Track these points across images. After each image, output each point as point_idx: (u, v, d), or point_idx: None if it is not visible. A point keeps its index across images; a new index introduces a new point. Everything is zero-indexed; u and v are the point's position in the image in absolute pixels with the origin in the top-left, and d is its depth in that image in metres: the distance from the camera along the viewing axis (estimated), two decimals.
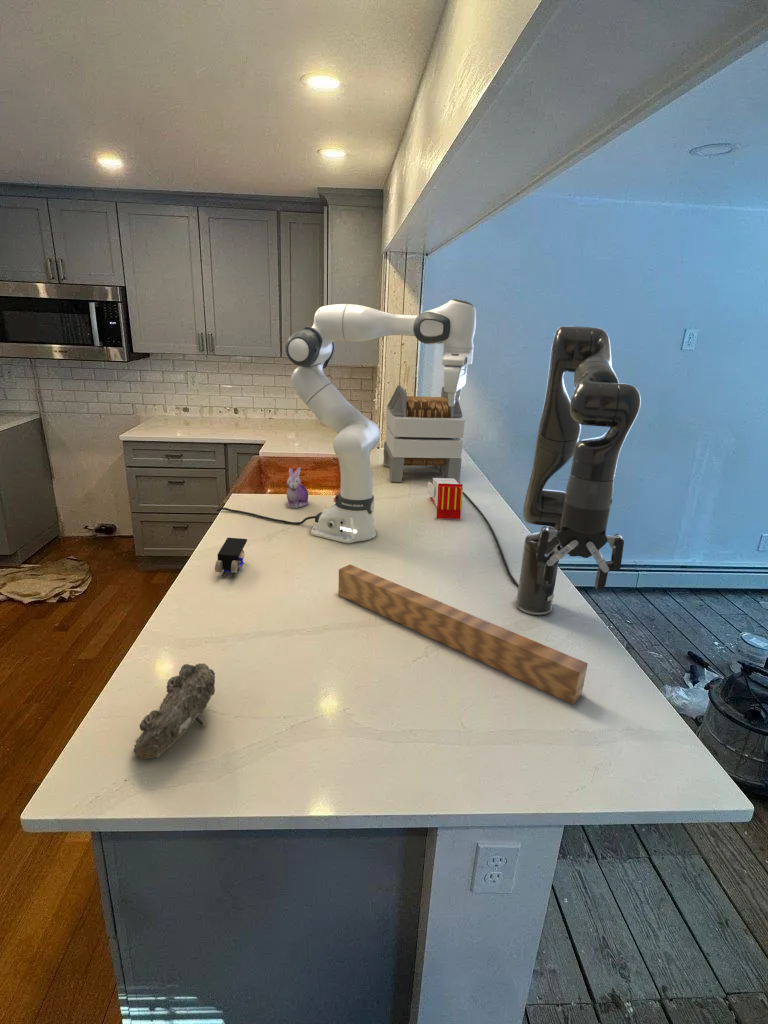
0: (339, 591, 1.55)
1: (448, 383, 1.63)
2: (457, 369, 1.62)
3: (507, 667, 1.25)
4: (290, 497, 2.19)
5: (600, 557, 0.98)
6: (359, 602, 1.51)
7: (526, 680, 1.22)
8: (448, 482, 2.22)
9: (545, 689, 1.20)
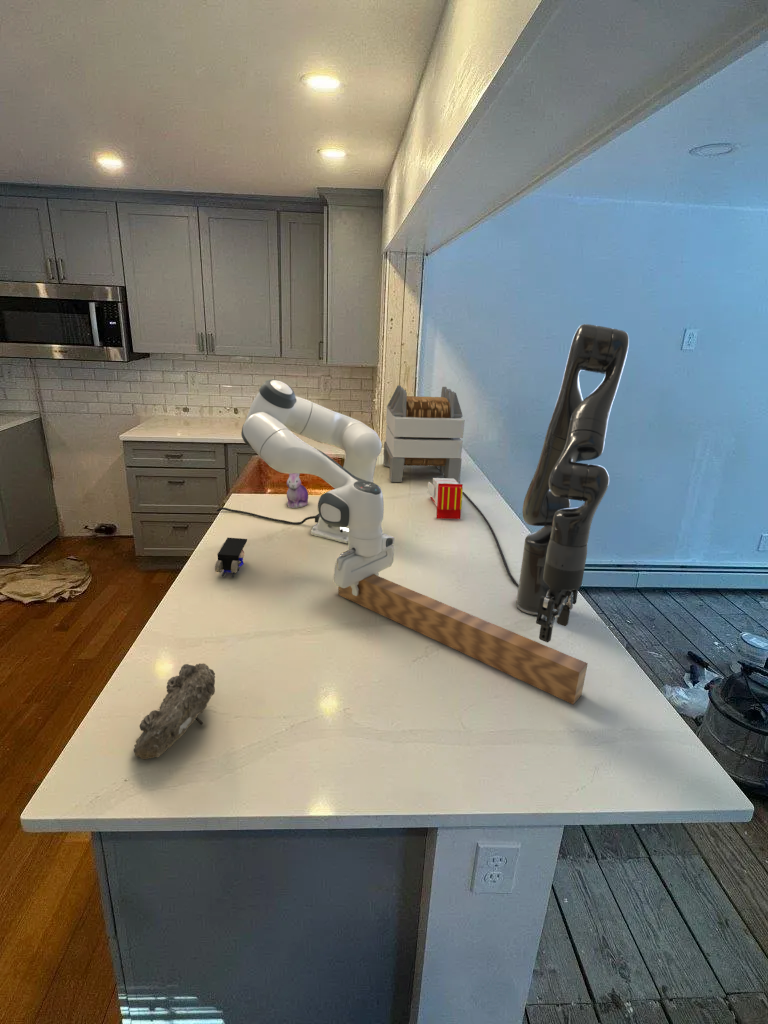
0: (339, 591, 1.55)
1: None
2: None
3: (507, 667, 1.25)
4: (290, 497, 2.19)
5: None
6: (359, 602, 1.51)
7: (526, 680, 1.22)
8: (448, 482, 2.22)
9: (545, 689, 1.20)
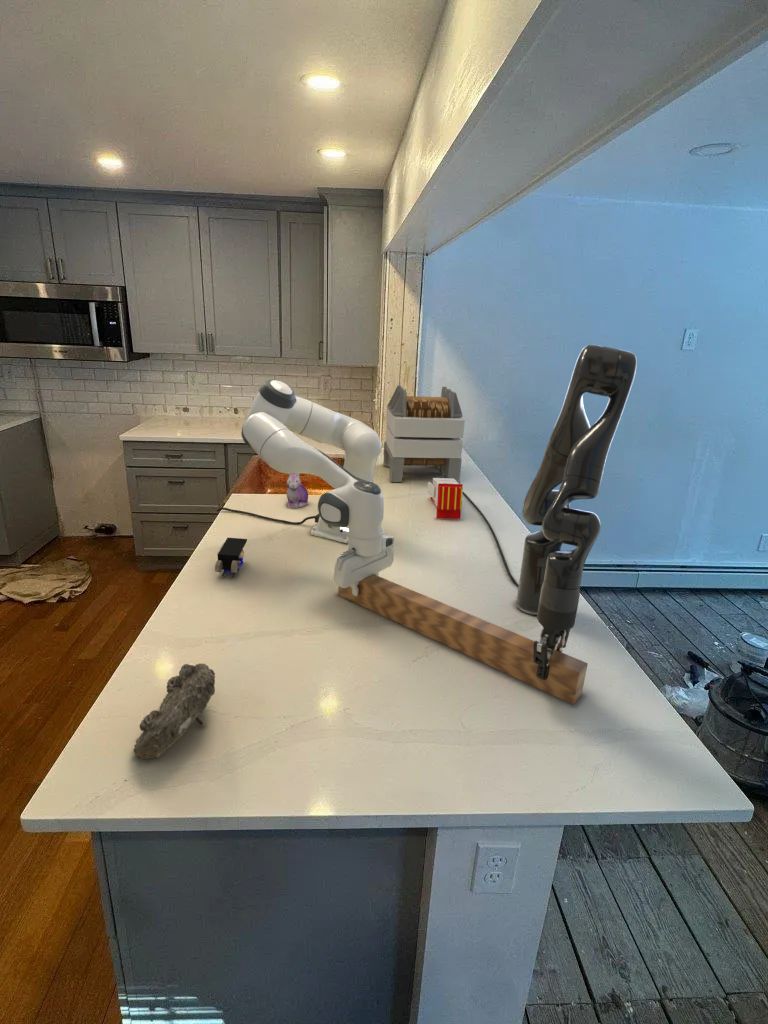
0: (339, 591, 1.55)
1: None
2: None
3: (507, 667, 1.25)
4: (290, 497, 2.19)
5: None
6: (359, 602, 1.51)
7: (526, 680, 1.22)
8: (448, 482, 2.22)
9: (545, 689, 1.20)
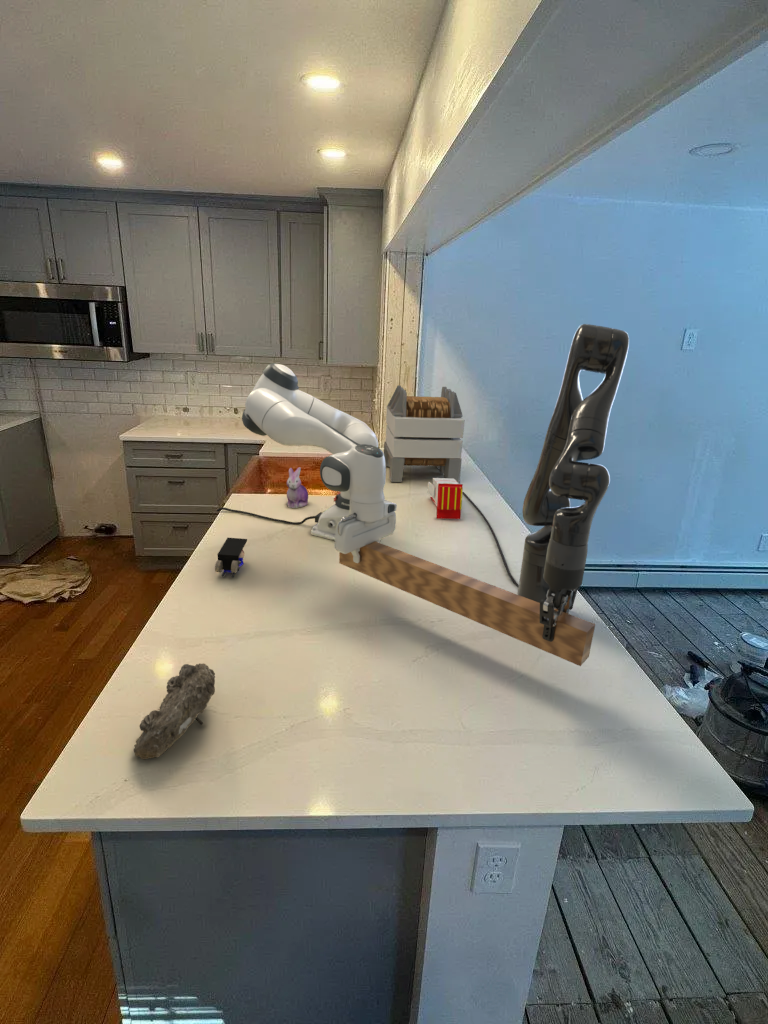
0: (340, 559, 1.52)
1: None
2: None
3: (512, 630, 1.22)
4: (290, 497, 2.19)
5: None
6: (361, 570, 1.48)
7: (532, 642, 1.19)
8: (448, 482, 2.22)
9: (551, 651, 1.17)
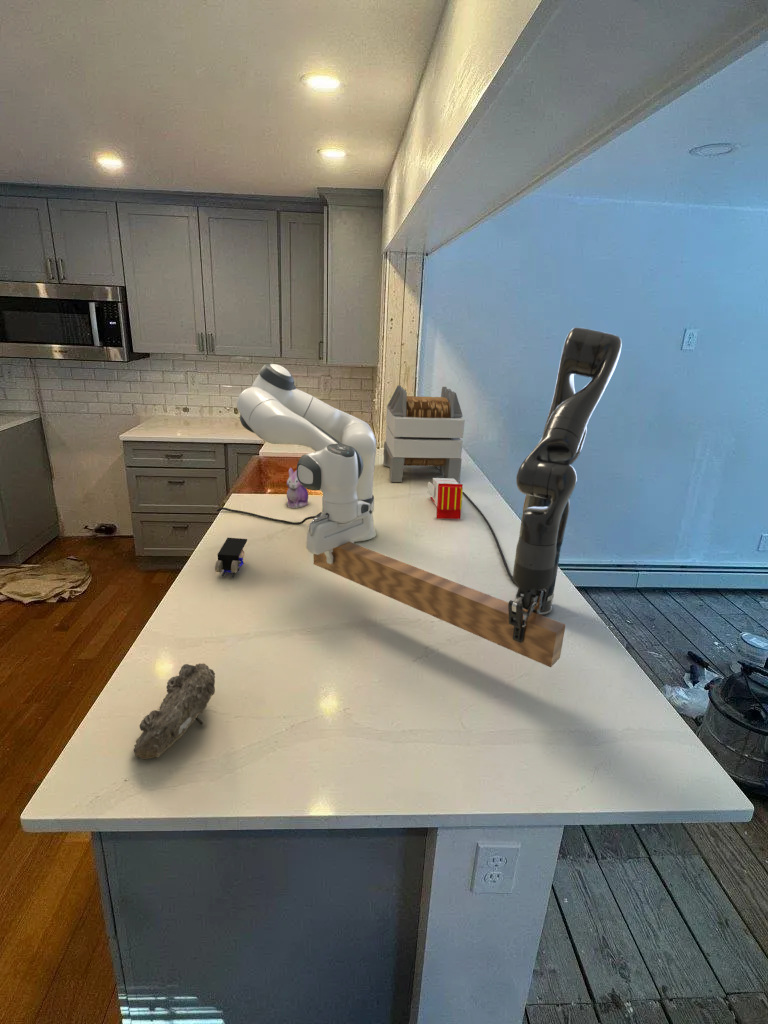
0: (314, 560, 1.50)
1: None
2: None
3: (483, 631, 1.20)
4: (290, 497, 2.19)
5: None
6: (335, 571, 1.46)
7: (503, 643, 1.17)
8: (448, 482, 2.22)
9: (522, 652, 1.15)
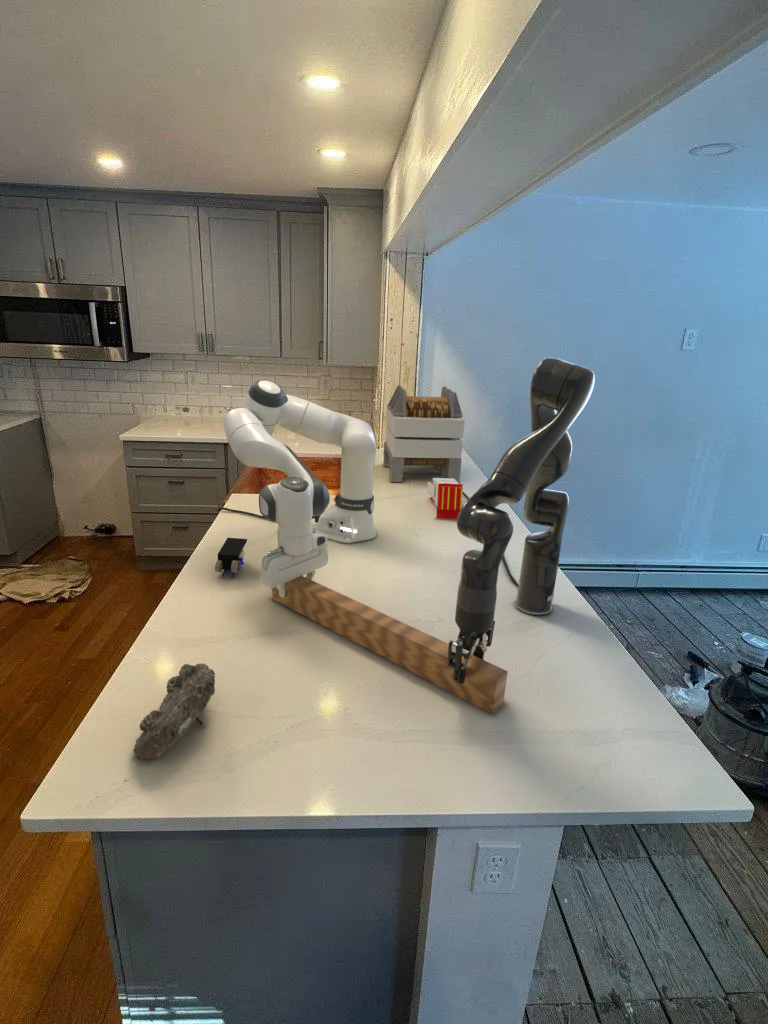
0: (273, 595, 1.51)
1: None
2: None
3: (430, 674, 1.21)
4: None
5: None
6: (292, 607, 1.47)
7: (448, 688, 1.18)
8: (448, 482, 2.22)
9: (465, 697, 1.16)
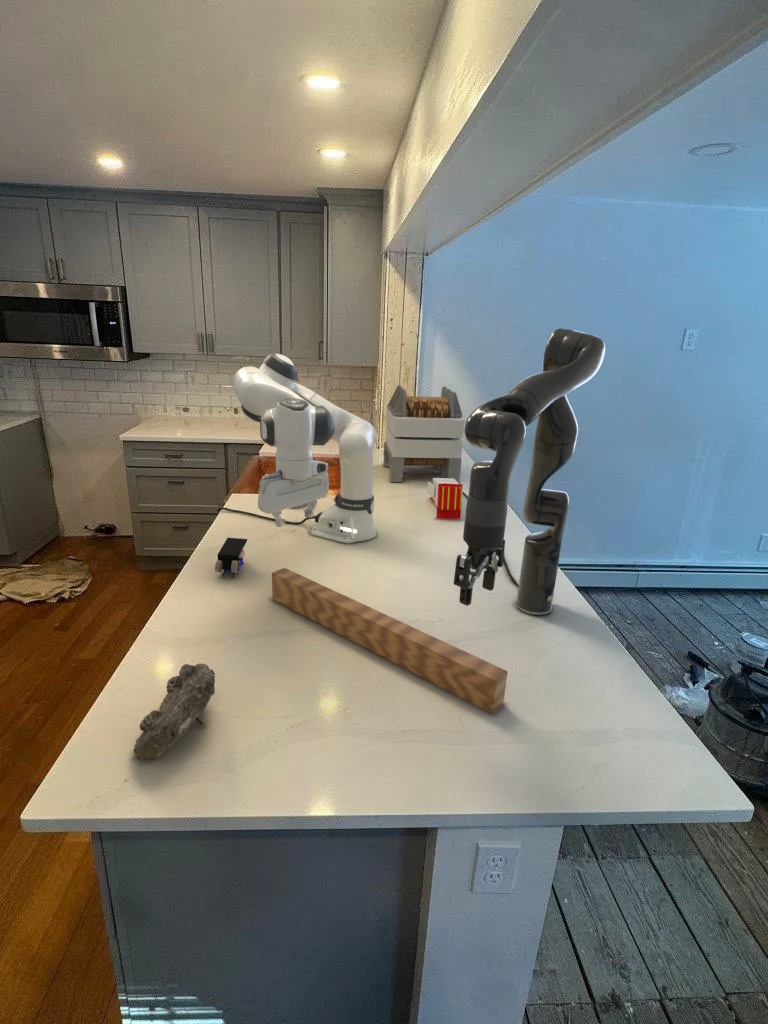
0: (273, 595, 1.51)
1: None
2: None
3: (430, 674, 1.21)
4: None
5: None
6: (292, 607, 1.47)
7: (448, 688, 1.18)
8: (448, 482, 2.22)
9: (465, 697, 1.16)
